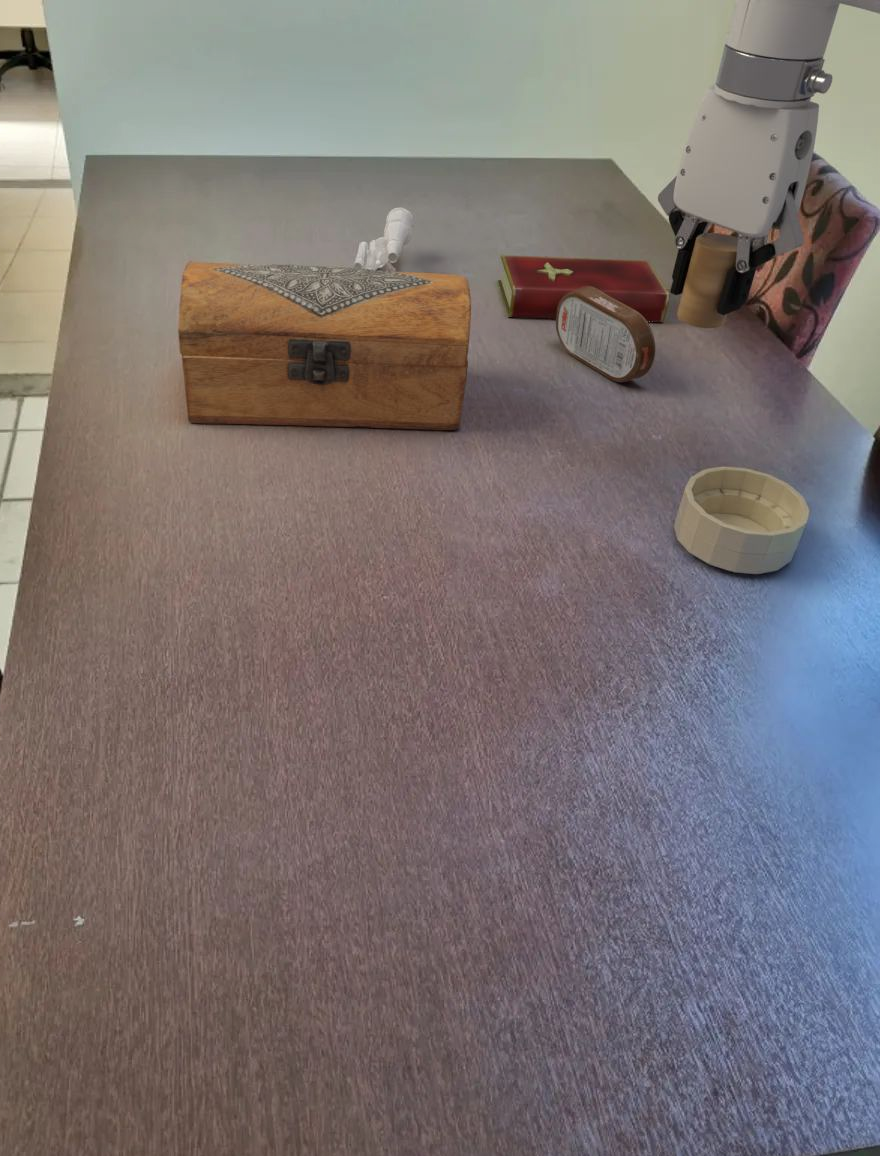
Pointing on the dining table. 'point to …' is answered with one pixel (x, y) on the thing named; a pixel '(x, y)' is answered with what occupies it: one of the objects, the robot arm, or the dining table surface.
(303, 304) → the wooden box
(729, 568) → the bowl
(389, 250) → the toy cannon
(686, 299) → the wooden cylinder
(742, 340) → the dining table surface
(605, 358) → the tin
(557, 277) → the hardcover book
